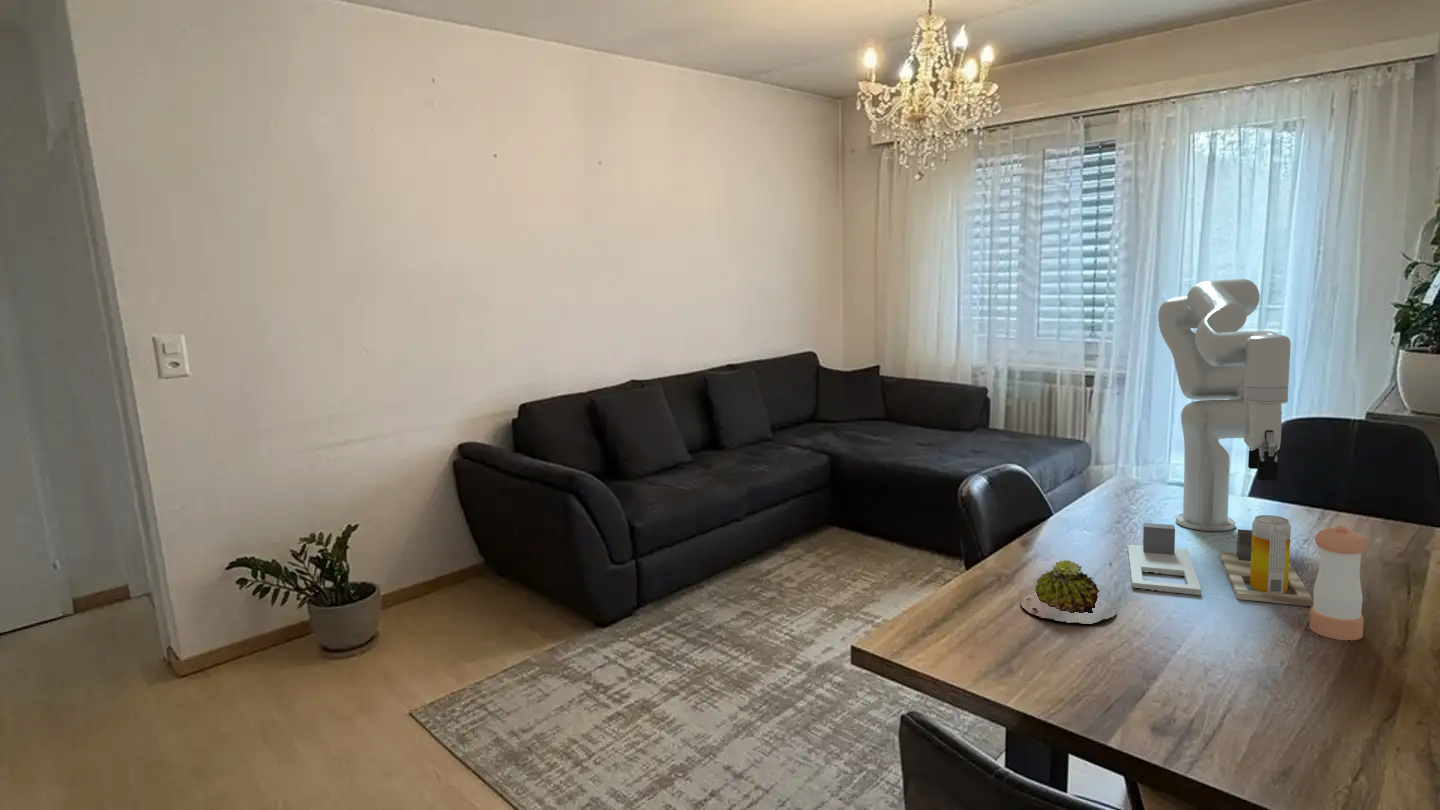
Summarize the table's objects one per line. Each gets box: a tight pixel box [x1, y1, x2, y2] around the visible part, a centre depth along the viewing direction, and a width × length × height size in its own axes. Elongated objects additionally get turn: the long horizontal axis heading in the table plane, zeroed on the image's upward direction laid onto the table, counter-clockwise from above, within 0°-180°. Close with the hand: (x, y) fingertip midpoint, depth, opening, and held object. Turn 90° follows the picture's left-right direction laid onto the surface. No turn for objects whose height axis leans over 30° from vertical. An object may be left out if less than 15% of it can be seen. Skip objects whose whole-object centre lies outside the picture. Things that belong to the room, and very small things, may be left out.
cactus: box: [1034, 559, 1107, 621], centre depth 148 cm, size 17×16×10 cm
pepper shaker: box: [1308, 525, 1369, 641], centre depth 131 cm, size 7×7×19 cm
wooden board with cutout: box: [1218, 528, 1313, 607], centre depth 155 cm, size 24×12×7 cm, turn 154°
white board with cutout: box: [1127, 522, 1202, 596], centre depth 163 cm, size 24×12×7 cm, turn 154°
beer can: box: [1249, 514, 1292, 594], centre depth 149 cm, size 6×6×15 cm
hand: (1261, 474), depth 160 cm, fingers open, 9 cm apart
